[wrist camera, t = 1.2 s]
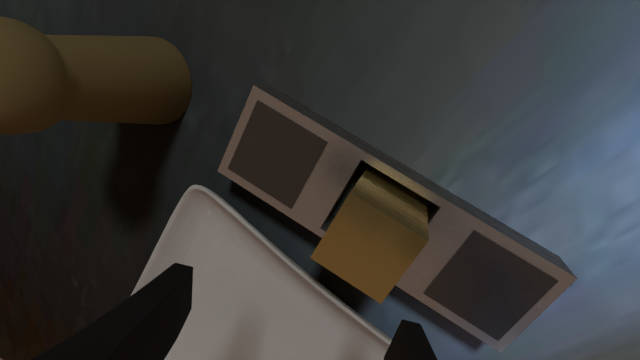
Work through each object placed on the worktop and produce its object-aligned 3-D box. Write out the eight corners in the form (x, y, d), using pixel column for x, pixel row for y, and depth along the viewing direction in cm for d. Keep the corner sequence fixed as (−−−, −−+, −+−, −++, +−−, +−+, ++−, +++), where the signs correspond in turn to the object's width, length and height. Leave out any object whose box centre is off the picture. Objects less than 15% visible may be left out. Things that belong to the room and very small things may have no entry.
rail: (559, 256, 19) (578, 279, 17) (492, 325, 21) (501, 354, 19) (270, 85, 21) (252, 85, 19) (236, 163, 24) (216, 171, 21)
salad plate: (123, 335, 32) (90, 362, 29) (217, 167, 25) (186, 178, 21) (294, 482, 31) (280, 528, 28) (453, 352, 23) (458, 395, 20)
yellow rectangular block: (426, 196, 21) (428, 241, 14) (391, 245, 22) (380, 303, 16) (370, 162, 21) (349, 192, 15) (339, 212, 22) (310, 257, 16)
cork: (200, 53, 22) (14, 22, 12) (182, 137, 24) (11, 171, 14) (127, 24, 23) (-102, -27, 13) (116, 107, 25) (-89, 118, 15)
